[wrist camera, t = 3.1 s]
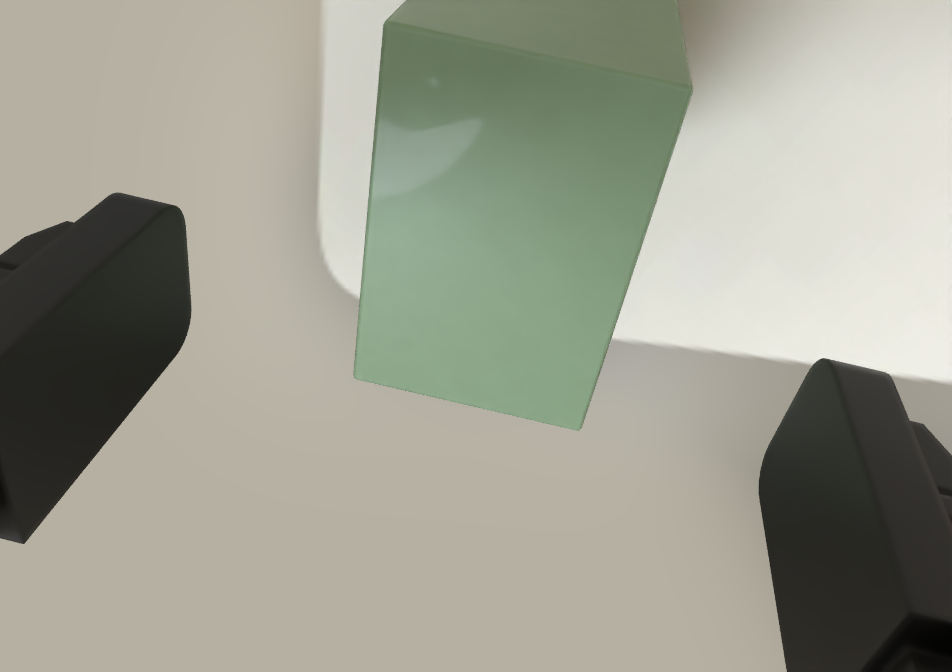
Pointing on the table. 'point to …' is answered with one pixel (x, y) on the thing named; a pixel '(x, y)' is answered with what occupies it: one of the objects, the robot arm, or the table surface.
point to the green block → (513, 194)
